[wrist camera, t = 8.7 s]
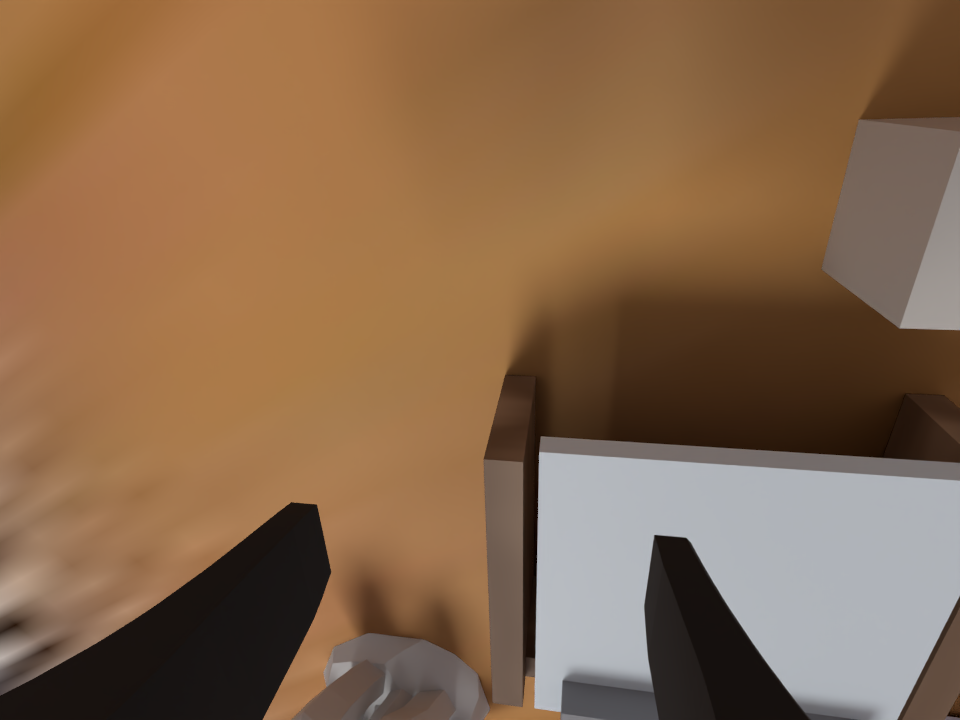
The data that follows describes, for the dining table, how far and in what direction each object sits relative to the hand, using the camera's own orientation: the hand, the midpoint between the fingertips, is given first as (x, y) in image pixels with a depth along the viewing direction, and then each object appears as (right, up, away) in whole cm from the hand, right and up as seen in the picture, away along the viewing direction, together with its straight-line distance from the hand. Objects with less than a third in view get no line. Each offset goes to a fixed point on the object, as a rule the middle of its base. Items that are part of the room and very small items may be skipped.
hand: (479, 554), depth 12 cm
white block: (+13, +9, +5) cm, 17 cm away
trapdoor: (+8, -4, +6) cm, 11 cm away
